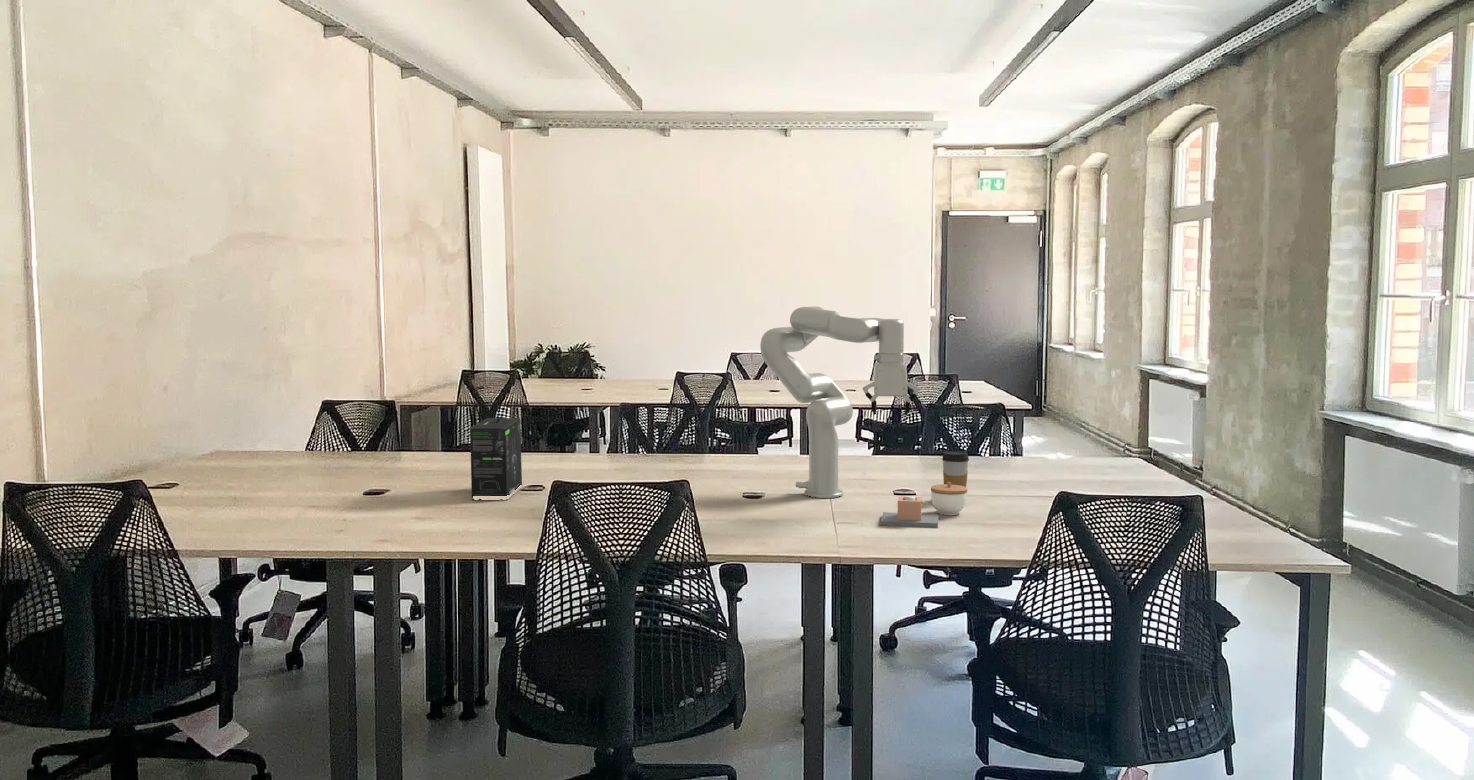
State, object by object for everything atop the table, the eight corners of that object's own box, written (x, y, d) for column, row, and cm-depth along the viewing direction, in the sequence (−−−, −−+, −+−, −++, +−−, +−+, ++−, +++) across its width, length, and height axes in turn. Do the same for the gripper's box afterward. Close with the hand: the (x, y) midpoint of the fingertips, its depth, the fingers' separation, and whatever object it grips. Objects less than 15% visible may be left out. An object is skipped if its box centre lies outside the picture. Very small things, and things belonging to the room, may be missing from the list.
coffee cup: (968, 502, 332) (969, 455, 330) (941, 501, 333) (942, 454, 332) (968, 497, 340) (968, 451, 338) (941, 496, 341) (942, 450, 340)
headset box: (507, 501, 337) (505, 420, 335) (470, 500, 338) (468, 420, 335) (523, 487, 360) (521, 412, 357) (488, 487, 360) (486, 412, 357)
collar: (897, 519, 302) (897, 500, 302) (898, 514, 309) (898, 496, 308) (920, 520, 301) (921, 501, 300) (921, 515, 307) (921, 497, 307)
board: (880, 525, 301) (880, 500, 300) (883, 516, 312) (883, 492, 312) (937, 527, 297) (938, 502, 297) (938, 518, 309) (938, 494, 308)
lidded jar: (964, 517, 310) (965, 486, 309) (928, 515, 313) (928, 484, 312) (968, 510, 320) (969, 480, 319) (933, 508, 323) (933, 478, 322)
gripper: (861, 359, 322) (861, 415, 324) (919, 360, 319) (918, 416, 321) (863, 358, 330) (863, 412, 331) (919, 358, 326) (919, 413, 328)
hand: (890, 414), depth 326 cm, fingers open, 9 cm apart
